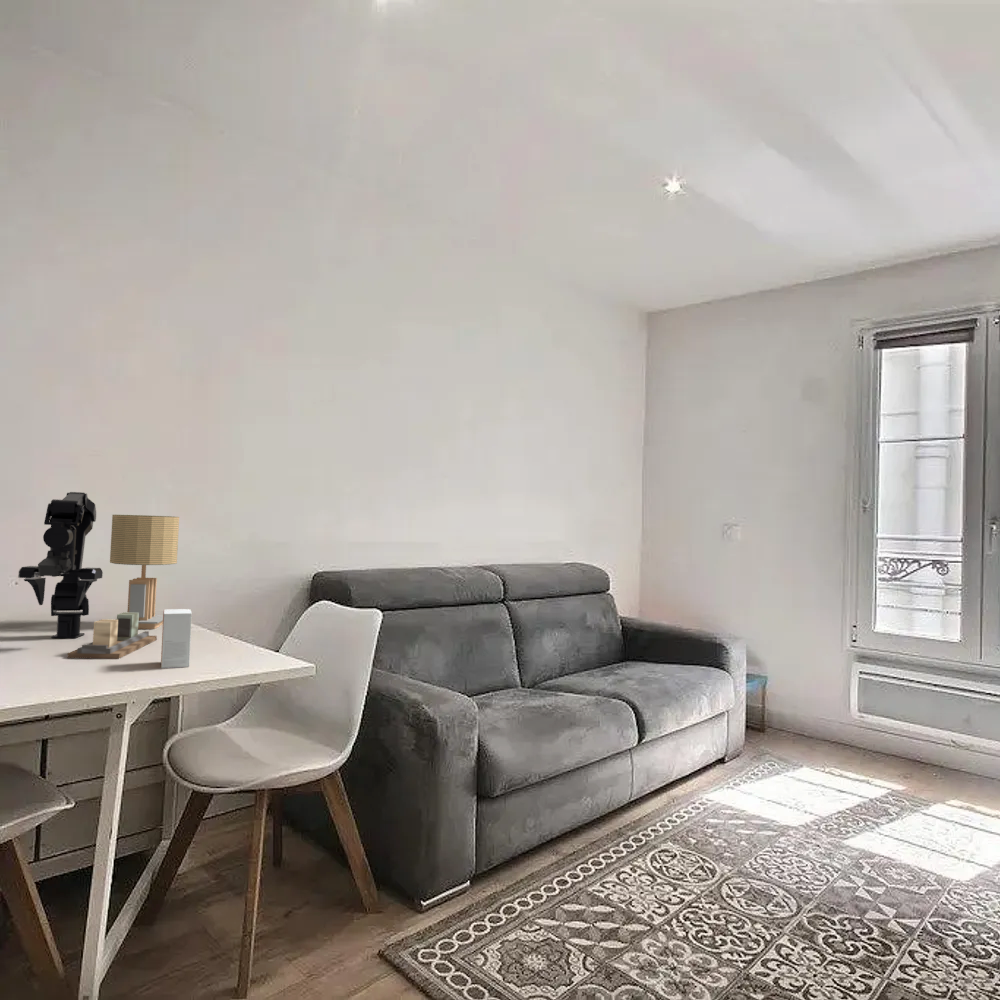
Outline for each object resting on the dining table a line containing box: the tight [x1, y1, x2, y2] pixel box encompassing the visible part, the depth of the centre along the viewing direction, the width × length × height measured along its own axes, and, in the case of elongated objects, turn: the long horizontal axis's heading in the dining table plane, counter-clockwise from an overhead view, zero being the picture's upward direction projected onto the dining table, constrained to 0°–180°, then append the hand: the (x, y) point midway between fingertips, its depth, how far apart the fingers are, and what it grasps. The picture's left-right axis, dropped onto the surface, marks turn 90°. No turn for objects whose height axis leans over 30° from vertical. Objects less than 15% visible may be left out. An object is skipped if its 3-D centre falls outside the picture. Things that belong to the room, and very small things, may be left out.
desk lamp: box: [109, 514, 180, 630], centre depth 233 cm, size 20×20×35 cm
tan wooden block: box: [92, 619, 118, 648], centre depth 187 cm, size 5×4×7 cm
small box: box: [160, 608, 193, 669], centre depth 177 cm, size 8×6×13 cm
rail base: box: [66, 611, 158, 660], centre depth 194 cm, size 28×12×8 cm, turn 8°
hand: (59, 605), depth 193 cm, fingers open, 9 cm apart
